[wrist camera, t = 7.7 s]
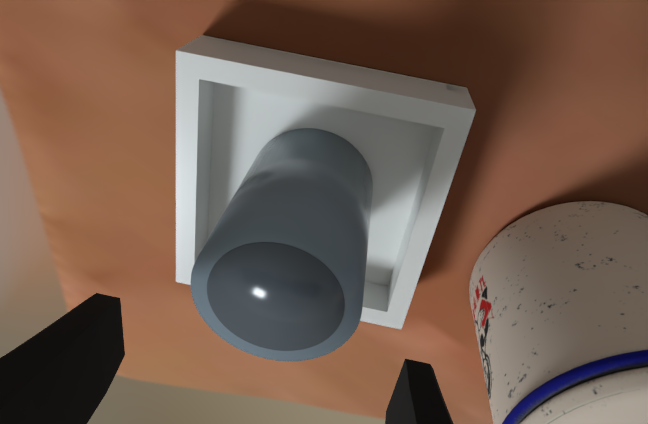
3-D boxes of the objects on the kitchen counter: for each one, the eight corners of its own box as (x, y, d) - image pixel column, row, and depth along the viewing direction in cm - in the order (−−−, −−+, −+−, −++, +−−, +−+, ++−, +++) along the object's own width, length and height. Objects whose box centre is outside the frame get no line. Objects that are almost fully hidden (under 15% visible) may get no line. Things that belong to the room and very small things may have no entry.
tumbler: (385, 142, 19) (380, 249, 13) (359, 247, 21) (344, 376, 15) (257, 116, 19) (191, 210, 13) (247, 223, 21) (188, 343, 15)
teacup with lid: (424, 254, 22) (447, 530, 12) (636, 150, 18) (917, 422, 8) (542, 409, 26) (632, 710, 16) (734, 350, 22) (1000, 689, 13)
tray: (466, 87, 18) (476, 110, 16) (400, 291, 23) (401, 329, 21) (201, 34, 18) (176, 50, 16) (196, 248, 23) (176, 281, 21)
